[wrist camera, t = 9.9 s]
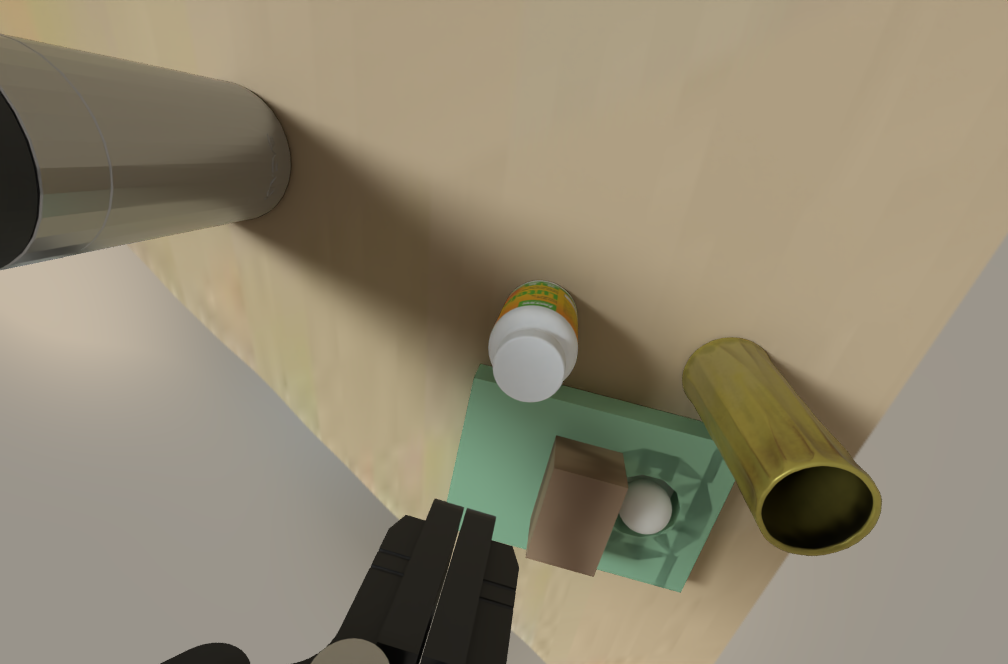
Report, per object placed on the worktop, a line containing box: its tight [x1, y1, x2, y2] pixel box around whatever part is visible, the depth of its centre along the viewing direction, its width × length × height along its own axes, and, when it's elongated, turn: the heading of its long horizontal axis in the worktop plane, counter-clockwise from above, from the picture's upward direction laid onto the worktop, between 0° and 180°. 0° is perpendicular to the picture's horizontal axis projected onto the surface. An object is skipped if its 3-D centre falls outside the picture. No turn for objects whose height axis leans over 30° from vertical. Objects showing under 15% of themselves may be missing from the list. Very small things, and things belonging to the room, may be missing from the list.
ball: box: [619, 479, 672, 534], centre depth 37 cm, size 4×4×4 cm
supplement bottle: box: [488, 280, 578, 402], centre depth 31 cm, size 5×5×10 cm
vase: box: [682, 337, 882, 556], centre depth 28 cm, size 6×6×14 cm
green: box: [447, 364, 735, 593], centre depth 38 cm, size 20×14×2 cm
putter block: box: [526, 435, 628, 577], centre depth 35 cm, size 5×8×4 cm, turn 167°
